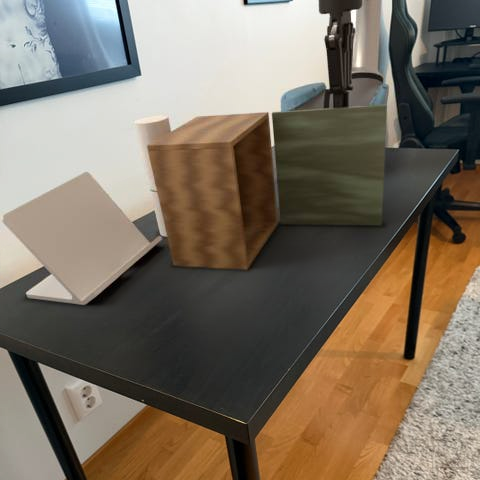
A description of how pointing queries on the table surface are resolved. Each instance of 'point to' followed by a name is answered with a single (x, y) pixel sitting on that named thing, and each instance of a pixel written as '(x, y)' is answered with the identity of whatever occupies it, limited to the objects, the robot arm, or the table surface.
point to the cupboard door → (330, 165)
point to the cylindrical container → (147, 134)
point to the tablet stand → (77, 240)
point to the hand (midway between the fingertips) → (341, 127)
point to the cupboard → (216, 189)
